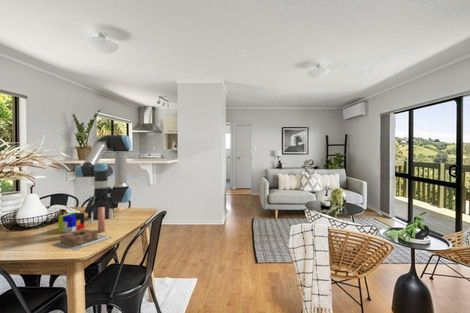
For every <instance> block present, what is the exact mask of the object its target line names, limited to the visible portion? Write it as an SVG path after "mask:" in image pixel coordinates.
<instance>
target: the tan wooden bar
mask: <svg viewBox="0 0 470 313" xmlns="http://www.w3.org/2000/svg"><path fill="white" fill-rule="evenodd" d="M105 220H106V218H105V207H98V219H97V234H98V233H101V234H102V233H105V231H106V223H105V222H106V221H105Z"/></svg>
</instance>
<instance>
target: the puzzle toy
mask: <svg viewBox="0 0 470 313" xmlns="http://www.w3.org/2000/svg"><path fill="white" fill-rule="evenodd" d="M82 229H85V212H69V213H66V214H65V213H64V214H62V215H58V232H59V233H71V232H74V231H78V230H82Z"/></svg>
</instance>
